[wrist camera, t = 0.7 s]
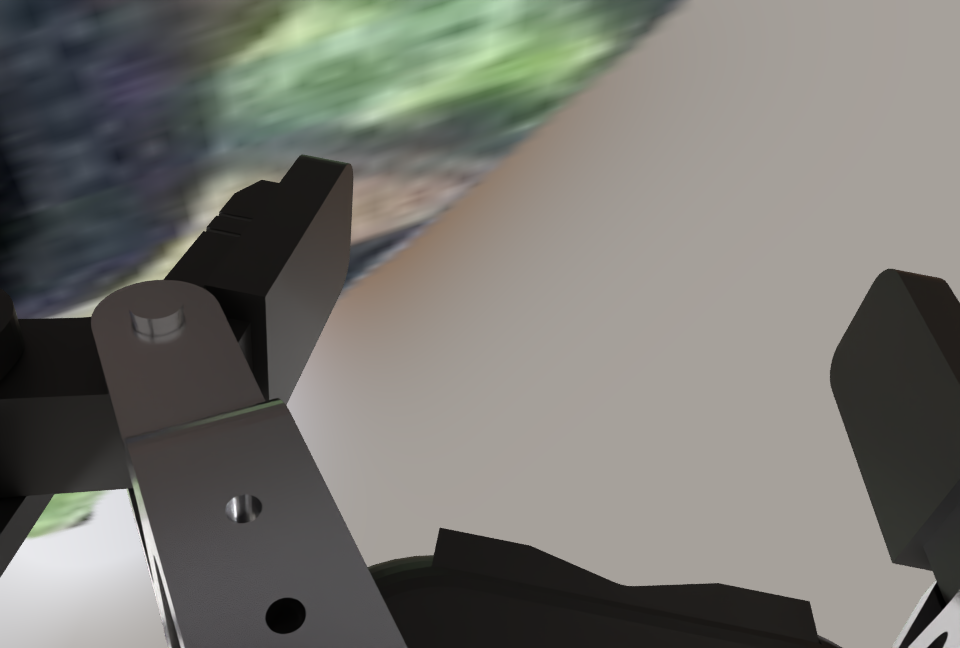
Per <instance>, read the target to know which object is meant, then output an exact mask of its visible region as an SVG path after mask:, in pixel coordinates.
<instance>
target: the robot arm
mask: <svg viewBox="0 0 960 648" xmlns="http://www.w3.org/2000/svg"><path fill="white" fill-rule="evenodd" d="M352 197H353V169H352V166H351V164H349V163H344V162H339V161H334V160H328V159H323V158H318V157H313V156H307V155H301V156H299V157H298V159H297V160H296V161H295V163H294V164H293V165H292V167H291V168H290V169H289V171H288V172H287V173H286V175H285V176H284V177H283V179H282V180H281V182H280V183H276V182H270V181H265V180H260V181H258V182H256V183H254V184H252V185H250V186H248V187H246V188H244V189H242V190H240V191H239V192H237V193H235V194H234V195H233V196H232V197H231V199H230V200H229V201H228V202H227V203H226V205H225V206H224V207H223V208H222V209H221V211H220V212H219V216H216V217H215V218H214V219H213V220H212V222H211V223H210V224H209V225H208V226H207V230H206V232H205V231H203V232H202V234H201V235H200V236H199V237H198V238H197V240H196V241H195V242H194V243H193V245H192V246H191V247H190V248H189V249H188V251H187V252H186V253H185V254H184V255H183V257H182V258H181V259H180V260H179V261H178V263H177V264H176V265H175V266H174V268H173V269H172V270H171V271H170V272H169V274H168V275H167V276H166V277H165V278H164V280H153V281H145V282H141V283H136V284H133V285H130V286H126V287H124V288H122V289H119V290H117V291H115V292H113V293H112V294H110V295H109V296H107V297H106V298H105V299H103V300H102V301H101V302H100V303H99V304H98V306H97V307H96V308H95V310H94V312H93V314H92V317H84V318H53V319H18V318H17V315H16V311H15V308H14V305H13V301H12V299H11V298H10V296H9V295H8V294H7V293H6V292H5V291H4V290H2V289H0V577H1V575H2V574H3V572H4V571H5V569H6V568H7V566H8V565H9V563H10V562H11V560H12V559H13V557H14V555H15V554H16V552H17V551H18V549H19V548H20V546H21V545H22V543H23V542H24V540H25V539H26V537H27V535H28V534H29V532H30V531H31V529H32V528H33V526H34V525H35V523H36V522H37V520H38V518H39V517H40V515H41V514H42V512H43V511H44V509H45V508H46V506H47V505H48V503H49V502H50V500H51V498H52V497H53V495H54V494H60V493H74V492H87V491H101V490H115V489H127V492H128V496H129V500H130V503H131V507H132V511H133V514H134V518H135V522H136V526H137V530H138V533H139V537H140V541H141V544H142V548H143V552H144V556H145V560H146V563H147V567H148V571H149V574H150V578H151V582H152V586H153V589H154V593H155V597H156V600H157V605H158V608H159V612H160V616H161V620H162V625H163V628H164V633H165V637H166V641H167V646H168V648H842V647H840V646H838V645H837V644H835V643H833V642H831V641H829V640H827V639H825V638H823V637H821V636H819V635H817V631H816V626H815V622H814V618H813V614H812V610H811V605H810V602H809V601H805V600H800V599H794V598H789V597H784V596H779V595H774V594H769V593H764V592H759V591H754V590H749V589H744V588H739V587H734V586H729V585H724V584H719V583H714V584H687V585H686V584H685V585H660V586H659V585H657V586H624V585H620V584H618V583H615V582H612V581H610V580H608V579H605V578H603V577H601V576H598V575H596V574H594V573H592V572H589V571H587V570H585V569H582V568H580V567H578V566H576V565H573V564H571V563H569V562H566V561H564V560H562V559H559V558H557V557H555V556H553V555H550V554H548V553H546V552H543V551H541V550H539V549H536V548H534V547H532V546H529V545H524V544H518V543H514V542H509V541H504V540H499V539H494V538H489V537H484V536H478V535H474V534H469V533H464V532H459V531H454V530H449V529H444V528H440V529H439V534H438V538H437V543H436V548H435V553H434V555H430V556H413V557H407V558H401V559H394V560H390V561H387V562H383V563H379V564H376V565H373V566H370V567H367V566H366V564H365V562H364V560H363V558H362V556H361V554H360V552H359V550H358V548H357V545H356V544H355V541H354V539H353V538H352V536H351V533H350V531H349V530H348V528H347V525H346V523H345V522H344V520H343V517H342V515H341V513H340V511H339V509H338V508H337V505H336V503H335V502H334V499H333V497H332V495H331V493H330V491H329V489H328V487H327V485H326V483H325V481H324V479H323V477H322V475H321V473H320V471H319V469H318V468H317V465H316V463H315V461H314V459H313V457H312V455H311V453H310V451H309V449H308V447H307V445H306V443H305V442H304V439H303V437H302V435H301V434H300V431H299V429H298V427H297V425H296V423H295V421H294V419H293V417H292V415H291V413H290V412H289V409H288V408H287V406H286V404H287V402H288V400H289V398H290V396H291V394H292V392H293V390H294V388H295V386H296V384H297V382H298V380H299V378H300V376H301V374H302V371H303V369H304V367H305V365H306V363H307V361H308V359H309V357H310V355H311V353H312V351H313V349H314V347H315V344H316V342H317V340H318V338H319V336H320V334H321V332H322V330H323V328H324V326H325V324H326V322H327V320H328V318H329V316H330V314H331V311H332V309H333V307H334V305H335V303H336V301H337V299H338V297H339V295H340V293H341V291H342V288H343V285H344V282H345V279H346V275H347V270H348V265H349V257H350V242H351V220H352ZM830 383H831V388H832V391H833V394H834V397H835V400H836V403H837V405H838V409H839V411H840V414H841V417H842V420H843V423H844V426H845V429H846V431H847V434H848V437H849V440H850V443H851V446H852V448H853V451H854V454H855V457H856V460H857V463H858V466H859V469H860V472H861V474H862V477H863V480H864V483H865V486H866V489H867V492H868V494H869V497H870V500H871V503H872V506H873V509H874V511H875V514H876V517H877V520H878V523H879V526H880V529H881V531H882V534H883V537H884V540H885V543H886V546H887V548H888V551H889V555H890V557H891V560H892V563H895V564H900V565H905V566H910V567H915V568H920V569H926V570H930V571H933V573H934V575H935V578H936V580H935V582H934V583H933V584H932V585H931V586H930V587H929V588H928V590H927V591H926V592H925V593H924V594H923V595H922V597H921V598H920V600H919V602H918V604H917V605H916V607H915V609H914V610H913V612H912V614H911V616H910V617H909V619H908V621H907V622H906V624H905V626H904V627H903V629H902V631H901V633H900V634H899V636H898V638H897V639H896V641H895V643H894V645H893V646H892V648H960V303H959V301H958V300H957V298H956V296H955V295H954V294H953V292H952V290H951V288H950V287H949V285H948V284H947V283H946V281H945V280H943V279H941V278H937V277H932V276H926V275H921V274H916V273H911V272H905V271H900V270H895V269H887V270H885V271H883V272H882V273H881V274H879V276H878V277H877V278H876V279H875V281H874V283H873V284H872V286H871V288H870V289H869V291H868V293H867V295H866V296H865V298H864V300H863V302H862V304H861V305H860V307H859V309H858V311H857V312H856V315H855V316H854V318H853V320H852V321H851V323H850V325H849V327H848V329H847V330H846V332H845V334H844V336H843V337H842V339H841V341H840V343H839V345H838V346H837V348H836V351H835V353H834V356H833V359H832V364H831V370H830Z"/></svg>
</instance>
